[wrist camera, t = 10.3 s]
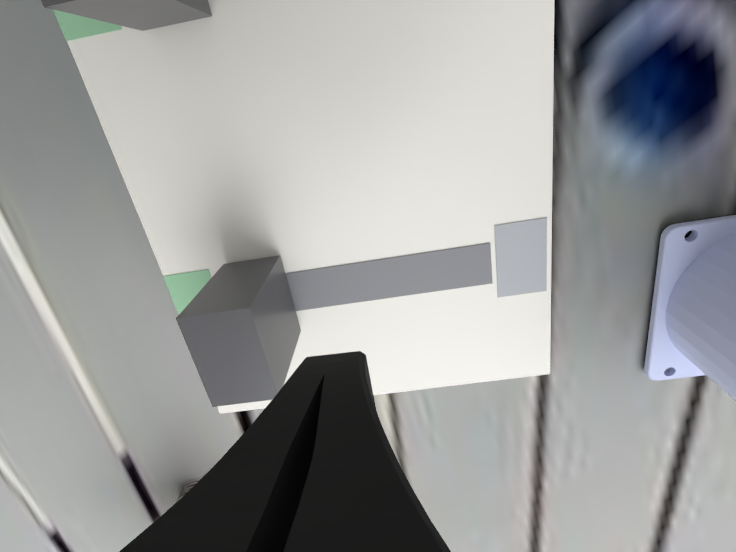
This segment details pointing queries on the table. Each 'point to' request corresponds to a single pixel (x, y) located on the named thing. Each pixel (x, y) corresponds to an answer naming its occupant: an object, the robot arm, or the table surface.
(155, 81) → the switch plate
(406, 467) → the table surface
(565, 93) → the table surface
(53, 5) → the handle
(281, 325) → the on handle
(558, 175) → the table surface
